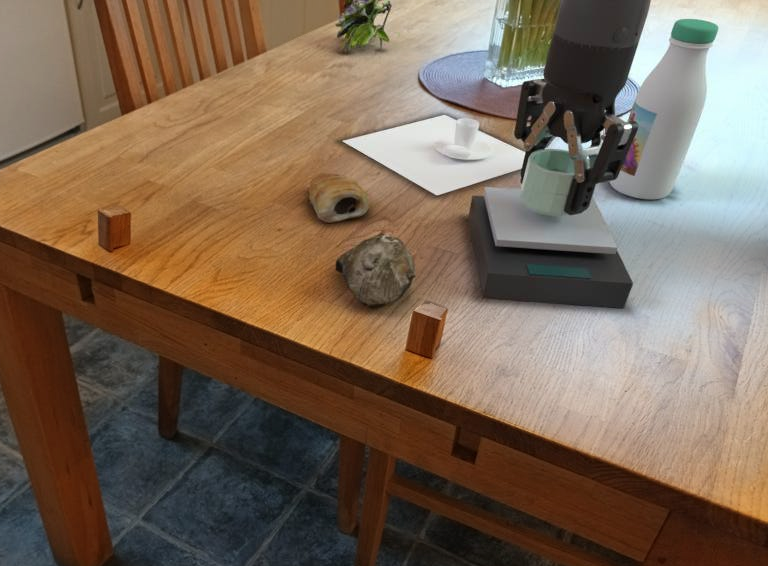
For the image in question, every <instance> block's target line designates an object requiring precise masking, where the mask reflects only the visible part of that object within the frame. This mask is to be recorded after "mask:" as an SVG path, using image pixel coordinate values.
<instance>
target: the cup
mask: <svg viewBox="0 0 768 566" xmlns="http://www.w3.org/2000/svg"><path fill="white" fill-rule="evenodd" d="M586 162H587V168H590V164H589V158H588V157H587V158H586ZM574 179H575V173H574V161H573V159H571V158H570V157H569V150H566V149H561V148H545V149H542V150H537V151H535V152H532V153H531V155H530V156H529V158H528V162H527V166H526V170H525V174H524V178H523V182H522V184H521V187H520V189H521V191H520V198H521V200H522V201H523V203H524V205H525V206H526V207H528V208H529V209H530V210H532V211H534V212H537V213H540V214H544V215H549V216H565V215H568V214H567V213H565V212H564V208H565V204H566V201H567V198H568V194H569V191H570V187H571V184H572V180H574Z"/></svg>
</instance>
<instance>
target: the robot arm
mask: <svg viewBox="0 0 768 566" xmlns="http://www.w3.org/2000/svg"><path fill="white" fill-rule="evenodd" d="M651 2H652V0H560V2H559V6H558V10H557V13H556V19H555V24H554V28H553V31H552V35H551V39H550V43H549V47H548V52H547V55H546V61H545V64H544V68H543V75H542V76H543V78H536V79H535V78H534V79H530V80H524V81H523V82H522V84H521V88H520V95H519V101H518V108H517V112H516V113H517V114H516V120H515V126H514V132H513V135H514V138H515V139H516V140H521V141H522V143H523V149H524V152H525V157H524V161H523V165H522V169H520V182H519V183H520V184H521V185H522V182H523V178H524V174H525V170H526V166H527V162H528V158H529V156H530V155H531V153H532V152H535V151H537V150H542V149H548V148H549V146H551V144H552V143H553V141H554V140H555V139H556V138H560V139H561V140H562V141H563V143H565V144H566V145H567V149H568V150H567V151H569V157H570V158H571V159H573V161H574V173H575V179H574V180H572V184H571V187H570V191H569V194H568V198H567V201H566V204H565V208H564V212H565V213H567V214H568V215H575V214H580V213H582V212H583V211H584V210H587V208H588V207H589V205H590V201H591V199H592V196H593V197H594V192H595V190H596V186H597V185H598V184H602V183H607V182H610V181H612V180H616V179H617V177H618V175H619V173H620V170H621V168H622V166H623V163H624V161H625V159H626V156H627V154H628V152H629V149H630V147H631V145H632V142H633V140H634V137H635V135H636V133H637V130H638V124H637V122H636V121H628V120H627V121H628V122H627V121H625V120H623V119H622V118H620V117H618V116H617V115H616V107H615V106H616V105H615V104H616V98H617V97H618V95H619V94H620V92H621V91H622V90H623V89H624V88H625V86H626V84H627V81H628V78H629V76H630V72H631V68H632V66H633V63H634V59H635V57H636V53H637V49H638V46H639V43H640V40H641V37H642V35H643V31H644V29H645V28H644V27H645V25H646V21H647V18H648V16H649V15H648V14H649V11H650V7H651ZM529 118H530V121H529V125H528V120H529ZM588 142H591V143H590V146H589V147H586V148H584V147H583V144H587V143H588ZM586 158H587V159H589V164H590V168H587V162H586Z"/></svg>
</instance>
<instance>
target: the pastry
mask: <svg viewBox="0 0 768 566" xmlns="http://www.w3.org/2000/svg"><path fill="white" fill-rule="evenodd" d="M308 193H309V197H308V198H309V200H310V204H311V205H312V206H313V209H314V212H315V213H316V216H317V218H318V219H319V220H321V221H323V222H324V223H328V224H329V223H337V222H341V221H345V220H347V219H355V218H359V217H361V216H362V217H363V215H365V214H366V213H367V212H368V210H369V208H370V205H371V204H370V202H369V199H368V196H367V194H366V192H365V190H364V189H363V187H361V186H360V185H359V184H358V182H357V181H356V180H353V179H348V177H347V176H344V175H342V174H337V173H326V172H321V173H319V174H316V175H315V176H314V177H312V178H311V180H310V182H309V187H308Z"/></svg>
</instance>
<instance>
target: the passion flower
mask: <svg viewBox="0 0 768 566" xmlns="http://www.w3.org/2000/svg"><path fill="white" fill-rule="evenodd" d="M379 1H380V0H345V2H344V3H343V4H342V5H343V8H344V9H345V11H344V12H342V13H340V14H341V15H339V16H338V22H335V27H337V28H340V29H339V30H338V32H337V34H336V38H341V37H343V36H344V37H343V42H342V49H343V51H344V53H345V54H346V53H347V49H348V50H349V51H352V50H354V49H356V48H358V47H359V48H364V47H365V46H366V45H368V44H369V43H371V40H373V38H376V36H377V37H378V38H379V48H380V51H382V49H383V48H382V47H383V43H384V42H387V43H390V38H389V36H388V34H387V33H386V32H385V25H386V24H387V20H388V17H389V15H390V12H391V9H392V6H393V5H392V3H391V1H390V0H385V1H383V2H381V5H382V6H379ZM385 7H386V8H385ZM386 11H387V12H386ZM380 14H383V15H384V14H386V15H385V18H384V19H383V23H382V24H377V25H375V19H376V18H377V16H378V15H380ZM383 41H384V42H383Z"/></svg>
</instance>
